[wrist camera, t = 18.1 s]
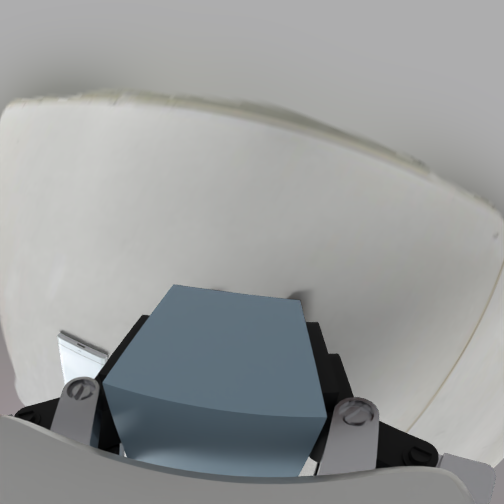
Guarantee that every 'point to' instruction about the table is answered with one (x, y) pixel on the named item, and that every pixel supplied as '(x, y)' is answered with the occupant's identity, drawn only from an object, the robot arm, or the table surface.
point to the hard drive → (79, 359)
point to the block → (219, 386)
